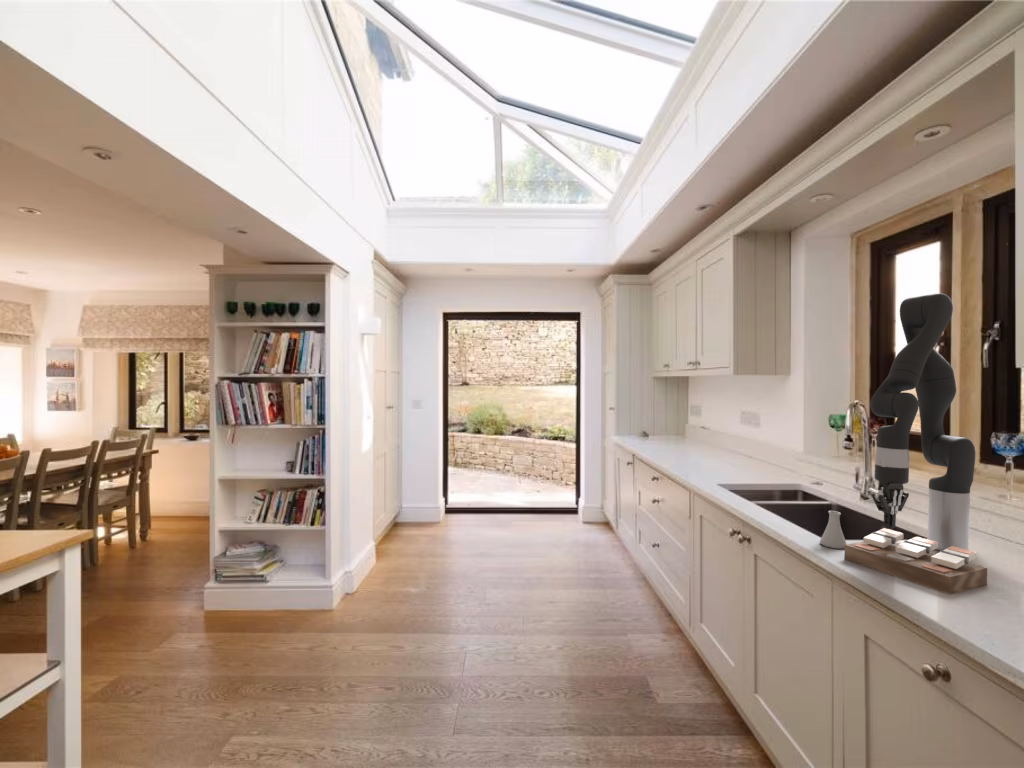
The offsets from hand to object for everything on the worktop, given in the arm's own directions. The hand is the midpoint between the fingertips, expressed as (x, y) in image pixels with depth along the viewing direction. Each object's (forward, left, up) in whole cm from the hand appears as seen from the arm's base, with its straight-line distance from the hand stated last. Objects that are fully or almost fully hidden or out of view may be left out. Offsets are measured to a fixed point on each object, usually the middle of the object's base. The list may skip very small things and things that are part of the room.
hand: (889, 526), depth 139 cm
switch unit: (+5, +8, -9) cm, 13 cm away
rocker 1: (+3, 0, -3) cm, 4 cm away
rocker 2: (+3, +8, -3) cm, 9 cm away
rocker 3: (+3, +16, -3) cm, 17 cm away
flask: (+4, -13, -9) cm, 16 cm away
